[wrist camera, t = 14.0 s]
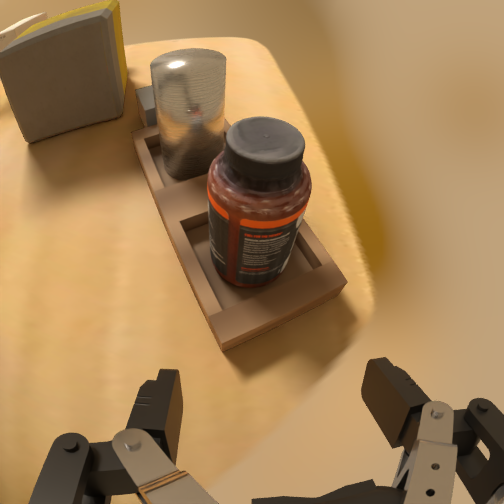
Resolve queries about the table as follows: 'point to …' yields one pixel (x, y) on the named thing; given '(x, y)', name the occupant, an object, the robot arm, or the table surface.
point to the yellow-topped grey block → (66, 71)
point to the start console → (146, 105)
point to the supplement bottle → (256, 200)
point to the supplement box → (19, 29)
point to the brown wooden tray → (204, 273)
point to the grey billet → (189, 109)
